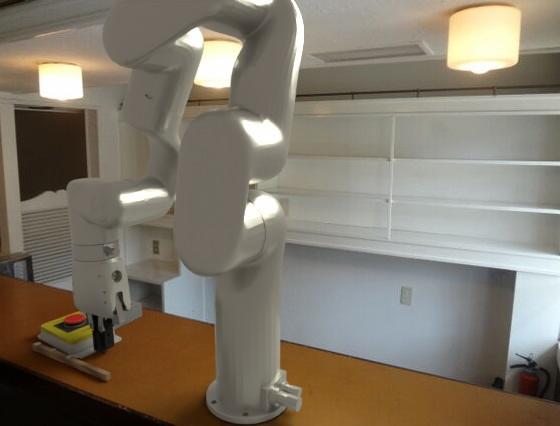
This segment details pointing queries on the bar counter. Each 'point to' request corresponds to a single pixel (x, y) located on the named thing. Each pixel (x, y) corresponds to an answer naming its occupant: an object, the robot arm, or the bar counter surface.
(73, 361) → the rail
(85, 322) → the emergency button
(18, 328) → the bar counter surface
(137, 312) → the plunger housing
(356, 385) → the bar counter surface
